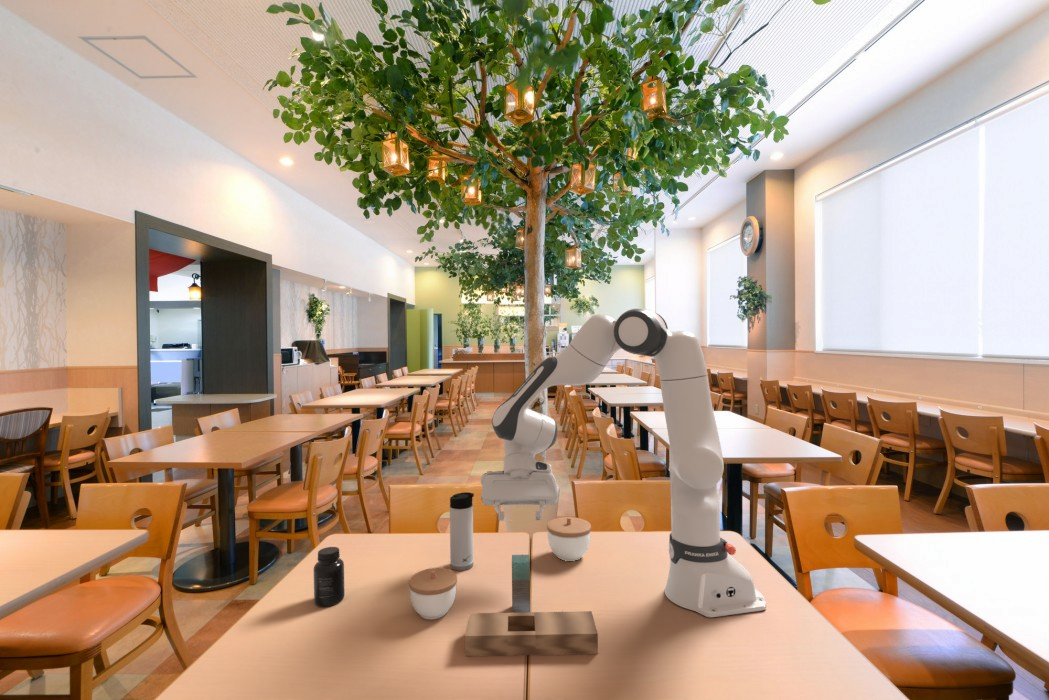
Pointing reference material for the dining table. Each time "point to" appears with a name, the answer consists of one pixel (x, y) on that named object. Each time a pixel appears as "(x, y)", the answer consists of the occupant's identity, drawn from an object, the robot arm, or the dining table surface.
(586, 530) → the lidded bowl
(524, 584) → the teal square peg
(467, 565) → the travel mug
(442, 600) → the lidded jar
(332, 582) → the supplement bottle
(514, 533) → the dining table surface
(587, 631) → the wooden peg hole block
